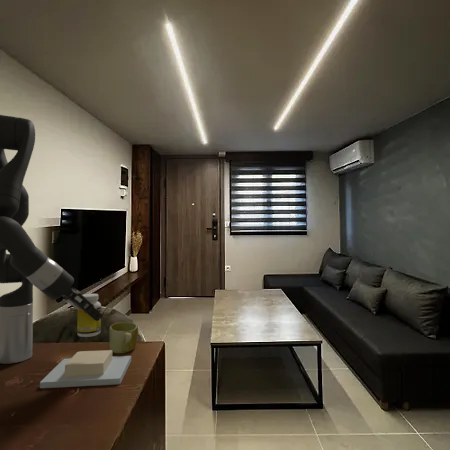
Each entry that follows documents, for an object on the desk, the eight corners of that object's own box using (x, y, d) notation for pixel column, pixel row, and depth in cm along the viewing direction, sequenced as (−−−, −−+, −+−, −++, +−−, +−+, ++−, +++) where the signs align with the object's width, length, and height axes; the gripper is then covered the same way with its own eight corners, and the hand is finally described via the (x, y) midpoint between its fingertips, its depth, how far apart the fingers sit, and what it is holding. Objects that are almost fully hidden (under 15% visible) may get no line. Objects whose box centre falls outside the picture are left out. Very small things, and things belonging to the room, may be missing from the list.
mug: (103, 340, 114) (112, 314, 114) (132, 346, 118) (141, 321, 117) (101, 360, 103) (111, 331, 102) (132, 365, 106) (143, 337, 106)
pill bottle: (100, 336, 90) (101, 296, 91) (76, 338, 88) (77, 297, 88) (100, 329, 96) (101, 292, 96) (77, 332, 94) (78, 293, 94)
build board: (39, 388, 83) (40, 370, 83) (64, 363, 99) (64, 348, 99) (120, 384, 85) (120, 366, 85) (131, 360, 101) (131, 345, 101)
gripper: (69, 269, 82) (114, 309, 90) (54, 265, 93) (96, 301, 101) (45, 293, 79) (94, 332, 86) (33, 285, 90) (77, 321, 97)
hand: (95, 315), depth 93 cm, fingers closed on pill bottle, 6 cm apart
